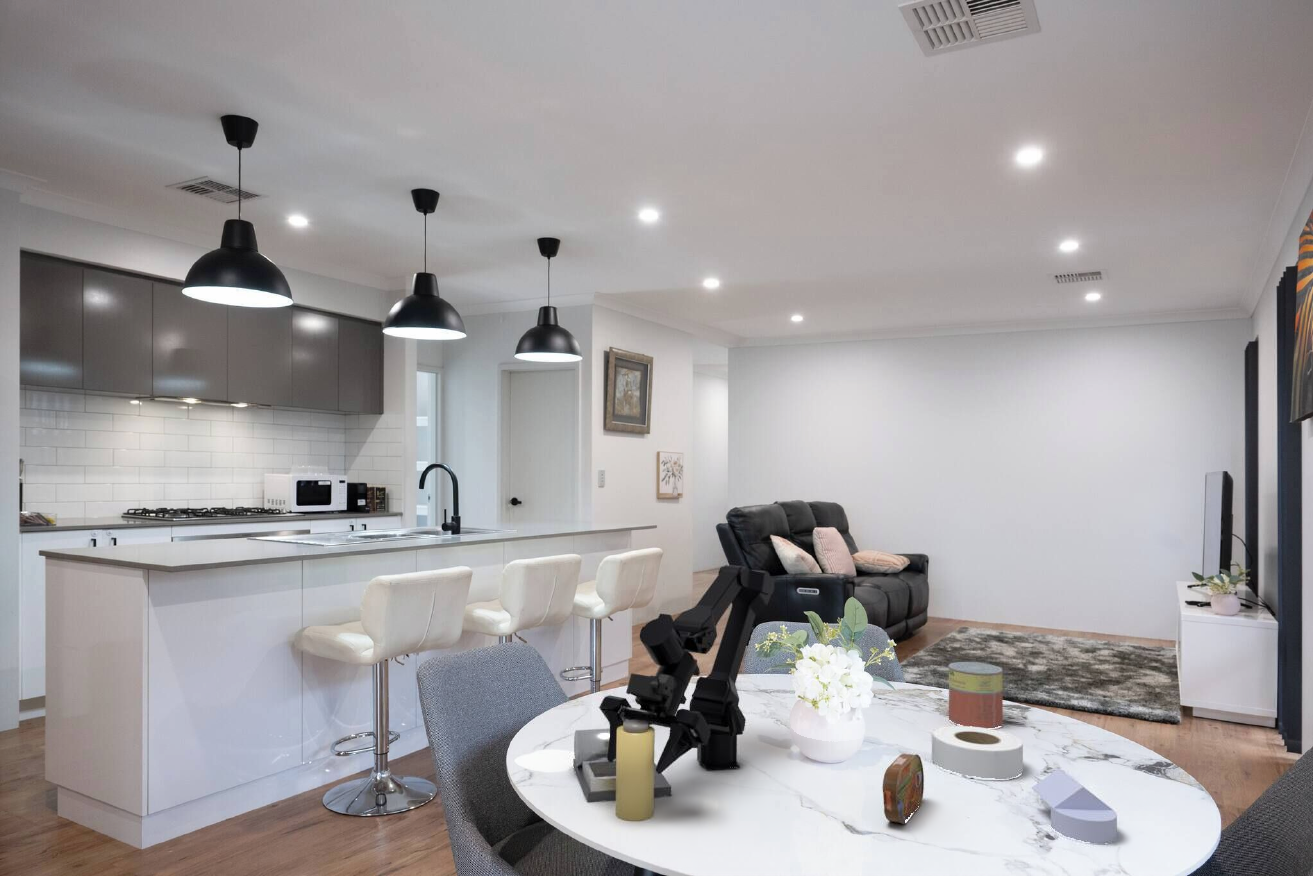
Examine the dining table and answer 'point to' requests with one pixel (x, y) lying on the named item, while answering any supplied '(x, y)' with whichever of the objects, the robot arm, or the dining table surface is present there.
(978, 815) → the dining table surface
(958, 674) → the canned food
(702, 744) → the robot arm
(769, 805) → the dining table surface
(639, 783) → the bottle
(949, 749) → the roll of tape
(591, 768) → the motor mount
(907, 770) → the tin
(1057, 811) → the wedge on round base
